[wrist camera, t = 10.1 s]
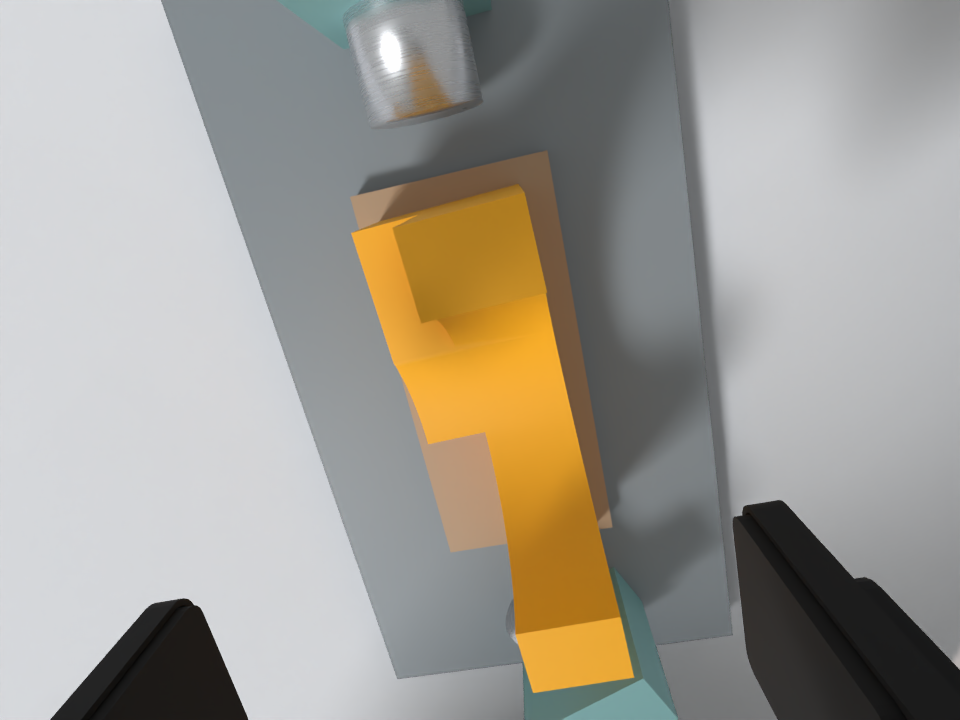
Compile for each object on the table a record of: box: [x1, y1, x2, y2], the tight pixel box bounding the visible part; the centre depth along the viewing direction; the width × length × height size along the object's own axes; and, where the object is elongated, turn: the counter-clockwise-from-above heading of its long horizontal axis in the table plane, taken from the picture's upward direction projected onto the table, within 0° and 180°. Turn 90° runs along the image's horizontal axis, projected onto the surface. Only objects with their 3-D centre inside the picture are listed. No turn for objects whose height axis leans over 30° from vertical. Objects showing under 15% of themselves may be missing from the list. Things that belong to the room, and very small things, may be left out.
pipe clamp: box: [351, 184, 634, 693], centre depth 15 cm, size 12×4×6 cm, turn 15°
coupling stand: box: [161, 0, 733, 720], centre depth 17 cm, size 26×14×6 cm, turn 13°
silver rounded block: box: [342, 0, 483, 130], centre depth 14 cm, size 4×3×3 cm, turn 13°
